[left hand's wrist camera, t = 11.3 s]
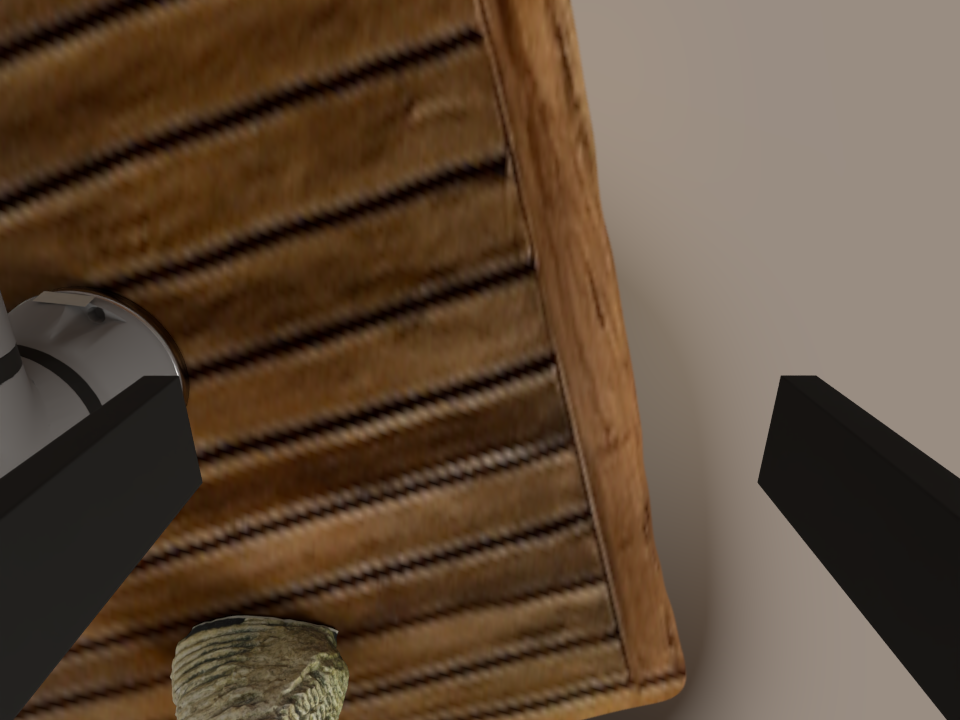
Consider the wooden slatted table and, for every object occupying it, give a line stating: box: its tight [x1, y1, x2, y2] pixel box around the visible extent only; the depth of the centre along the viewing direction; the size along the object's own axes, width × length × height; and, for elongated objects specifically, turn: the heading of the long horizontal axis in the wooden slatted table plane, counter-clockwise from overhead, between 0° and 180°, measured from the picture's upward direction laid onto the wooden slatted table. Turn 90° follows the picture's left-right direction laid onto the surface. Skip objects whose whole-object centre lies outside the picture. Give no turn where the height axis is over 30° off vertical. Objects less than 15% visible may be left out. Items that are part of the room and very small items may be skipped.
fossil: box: [170, 616, 349, 720], centre depth 54 cm, size 9×18×15 cm, turn 101°
